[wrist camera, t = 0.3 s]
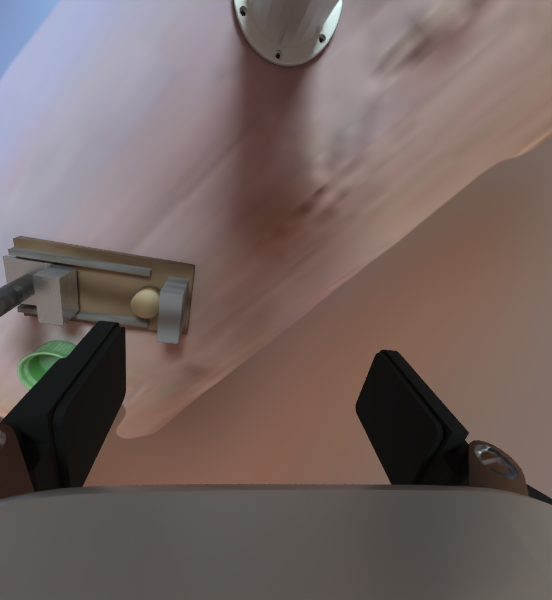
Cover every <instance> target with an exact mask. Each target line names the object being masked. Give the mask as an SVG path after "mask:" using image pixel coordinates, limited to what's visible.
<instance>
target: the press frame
mask: <svg viewBox="0 0 552 600" xmlns="http://www.w3.org/2000/svg"><path fill="white" fill-rule="evenodd" d="M13 241H14V247H13V248H11V249H8V251H9V255H12V256H16V257H20V258H26V259H33V260H39V261H46V262H53V263H55V265H61V266H68V267H75V268H76V275H77V292H78V308H79V311H78V312H77V313H76V314H75V315H74V316H73V317H72V318H71V319H70V320H69V321H78V322H86V323H95V324H96V323H97V322H98V321H110V322H118V323H119V325H120V327H129V328H138V329H146V330H155V331H157V342H164V343H173V344H178V343H179V340H180V336H181V334H187V331H188V324H189V315H190V306H191V297H192V288H193V279H194V270H195V265H193V264H187V263H181V262H175V261H169V260H163V259H157V258H151V257H145V256H139V255H132V254H126V253H120V252H114V251H108V250H102V249H96V248H90V247H84V246H78V245H72V244H66V243H60V242H54V241H48V240H41V239H35V238H29V237H23V236H19V237H16V238H13ZM144 286H154V287H157V288H158V289H160V290H161V291H160V298H159V312H158V313H157V314H156V315H155V316H154V317H152V318H141V317H139V316H137V315H136V314H135V313H134V312H133V311H132V309H131V305H130V304H131V300H132V299H133V297H134V296H135V295H136V293H137V292H138V291H139V290H140V289H141V288H142V287H144ZM17 308H18V312H22V313H24V315H26V316H35V317H38V314H37V306H36V305H28V304H21V305H20V306H18V307H17Z"/></svg>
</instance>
